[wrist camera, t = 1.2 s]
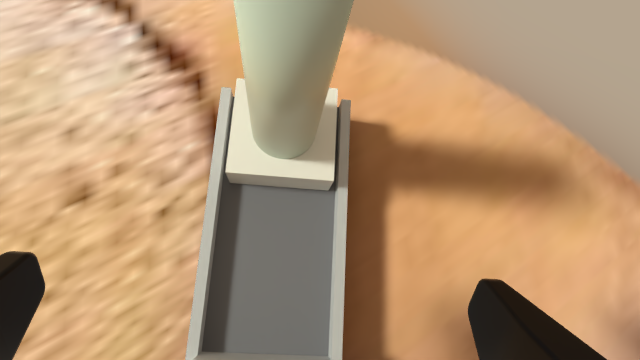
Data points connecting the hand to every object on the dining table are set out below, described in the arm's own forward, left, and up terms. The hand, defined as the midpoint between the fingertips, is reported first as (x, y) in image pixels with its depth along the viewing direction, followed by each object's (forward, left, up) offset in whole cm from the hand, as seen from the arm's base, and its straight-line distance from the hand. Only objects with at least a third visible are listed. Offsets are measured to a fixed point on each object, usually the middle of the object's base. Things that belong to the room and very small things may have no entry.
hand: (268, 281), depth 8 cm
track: (0, 0, -13) cm, 13 cm away
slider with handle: (+7, -3, -12) cm, 14 cm away
